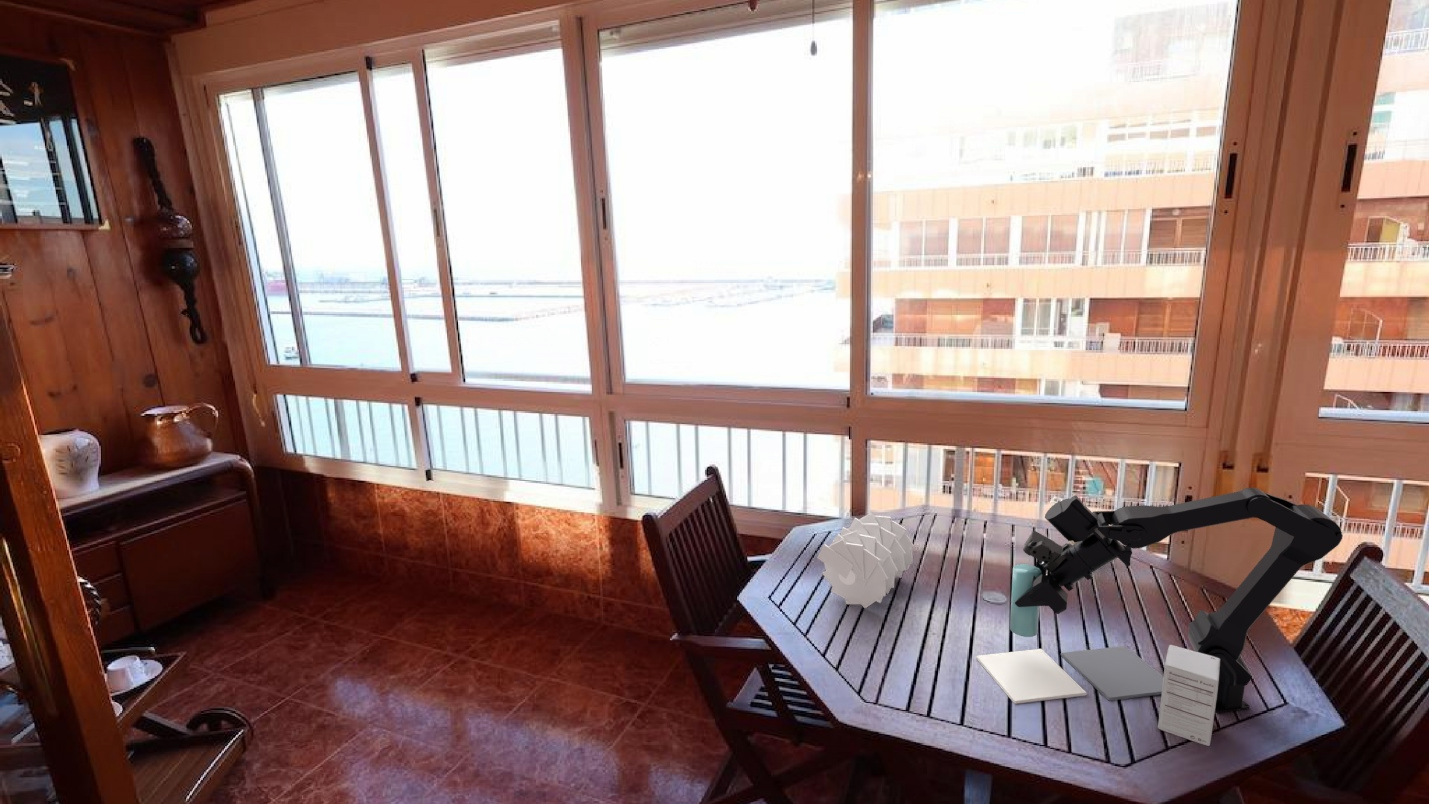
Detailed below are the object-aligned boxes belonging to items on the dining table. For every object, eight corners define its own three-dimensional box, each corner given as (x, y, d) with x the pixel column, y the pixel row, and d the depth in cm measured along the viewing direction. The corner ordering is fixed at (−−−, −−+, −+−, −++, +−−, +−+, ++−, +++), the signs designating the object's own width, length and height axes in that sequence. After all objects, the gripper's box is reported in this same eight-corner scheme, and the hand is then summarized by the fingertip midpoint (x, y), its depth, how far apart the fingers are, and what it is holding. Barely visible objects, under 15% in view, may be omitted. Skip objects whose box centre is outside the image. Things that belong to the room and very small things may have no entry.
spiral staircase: (899, 587, 171) (863, 630, 150) (842, 547, 178) (801, 582, 158) (932, 533, 164) (900, 570, 143) (872, 493, 171) (833, 523, 150)
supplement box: (1161, 705, 118) (1169, 642, 115) (1212, 722, 113) (1222, 657, 111) (1155, 729, 113) (1163, 663, 110) (1209, 748, 108) (1219, 680, 105)
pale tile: (1086, 695, 122) (1086, 692, 121) (1014, 703, 120) (1014, 700, 120) (1041, 651, 135) (1041, 648, 135) (976, 658, 134) (976, 655, 134)
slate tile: (1179, 692, 121) (1179, 689, 121) (1108, 700, 120) (1109, 697, 120) (1124, 648, 135) (1125, 645, 135) (1060, 655, 134) (1061, 652, 133)
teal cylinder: (1043, 634, 129) (1047, 573, 127) (1021, 639, 128) (1025, 577, 125) (1025, 621, 134) (1028, 562, 131) (1004, 625, 133) (1007, 566, 130)
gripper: (1056, 506, 132) (994, 548, 140) (1049, 542, 116) (980, 587, 124) (1098, 549, 130) (1033, 589, 138) (1097, 592, 114) (1024, 634, 122)
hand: (1017, 598), depth 130 cm, fingers closed on teal cylinder, 5 cm apart
